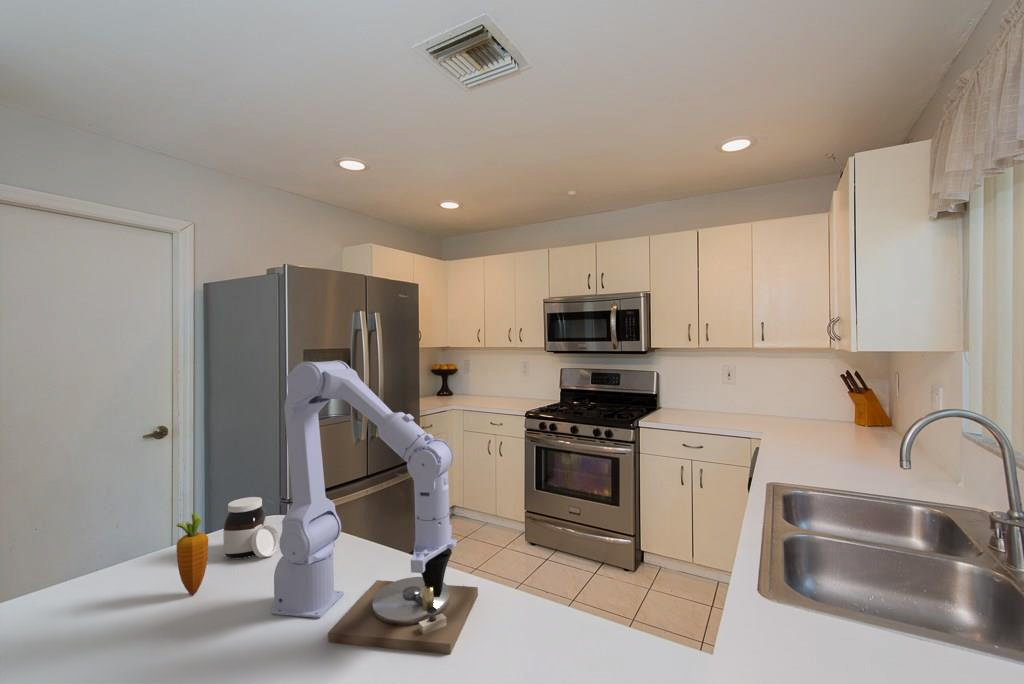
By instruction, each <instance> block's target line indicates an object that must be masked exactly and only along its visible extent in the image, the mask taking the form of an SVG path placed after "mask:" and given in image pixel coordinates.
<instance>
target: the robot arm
mask: <svg viewBox="0 0 1024 684" xmlns="http://www.w3.org/2000/svg"><path fill="white" fill-rule="evenodd" d="M286 381H287V382H286V383H287V395H286V398H285V402H284V419H285V429H286V431H285V433H286V440H287V441H286V442H287V452H288V453H287V454H288V463H289V465H288V466H289V476H290V485H291V486H290V487H291V495H292V496H291V497H292V505H291V506H290V508H289V510H288V511H287V512H286V514H285V515H284V517H283V518H282V520H281V524H282V525H281V527H282V528H281V529H282V530H281V531H282V532H281V533H280V536H279V550H280V553H281V554H282V556H281V557H280V558H279V560H278V562H277V563H276V566H275V570H274V573H273V592H274V593H273V595H274V596H273V597H274V599H273V602H274V603H273V604H274V606H273V607H274V608H273V609H271V611H270V613H271V614H272V615H282V616H293V617H294V616H295V617H306V618H316V619H318V618H321V617H322V616H323V615H324V614H325V613H326V612H327V611H328V610H329V609H330V608H331V607H332V606H333V605H334V604H335V603H337V602H338V601H339V599H340V598H342V597H343V596H344V595H345V594H344V591H343V590H335V589H334V588H335V587H334V586H335V585H334V579H335V578H334V575H335V574H334V548H335V546H336V543H335V542H336V540H337V539H338V538H340V535H341V532H342V521H341V519H340V517H339V515H338V514H337V511H336V505H335V502H334V501H332V500H331V499H329V498H327V497H326V487H325V477H324V475H325V474H324V465H323V463H324V462H323V454H322V444H321V442H322V441H321V430H320V419H319V413H320V411H321V410H322V409H323V407H325V406H326V405H327V403H328V402H329V401H331V400H343V401H345V402H347V403H348V404H349V405H350V406H351V407H353V408H354V409H355V410H357V411H358V412H359V413H360V414H362V415H363V416H364V417H365V418H367V419H368V421H371V422H372V423H373V424H374V425H376V426H377V427H378V436H379V438H380V439H381V440H382V441H383V442H384V443H385V444H386V445H387V446H388V447H389V448H390V449H392V451H393V452H394V453H396V454H397V455H398V456H399V457H400V458H401V459H403V461H405V462H406V468H407V472H408V474H409V475H410V477H411V478H412V480H413V486H414V487H413V488H414V527H415V529H414V531H415V534H414V535H415V541H414V543H413V555H412V558H411V559H410V573H413V574H414V573H416V574H421V577H423V580H424V583H425V585H426V584H432V585H433V587H434V597H440V595H441V592H442V586H443V582H444V580H445V579H444V578H445V575H446V569H447V566H448V563H449V561H450V558H451V556H452V554H453V551H452V549H454V548H455V547H456V546H457V544H458V540H457V539H455V538H452V534H453V531H452V529H453V528H452V526H453V525H452V524H450V491H449V490H450V488H449V487H450V486H449V471H448V469H450V467H451V466H452V464H453V460H454V453H453V450H452V449H451V446H450V445H449V444H448V443H447V441H445V440H444V439H439V438H434V435H432V434H431V433H427V432H426V431H425V430H424V429H422V428H421V427H420V426H419V425H418V424H417V423H416V422H415V421H414V420H415V417H414V416H413V415H412V414H411V413H407V414H406V413H404V412H402V411H399V412H393V411H392V410H391V408H389V407H388V406H387V405H386V404H385V403H384V402H383V401H382V399H380V398H379V396H377V394H375V393H374V392H373V390H371V388H369V386H367V385H366V383H364V382H363V380H361V379H360V376H359V375H358V373H357V371H356V370H354V369H353V368H351V367H350V366H349V364H347V362H345V361H342V360H340V359H337V360H332V361H331V360H330V361H303V362H299V364H297V365H295V367H294V368H293V369H292V370H291V371H290V372H289V373H288V374H287V376H286Z"/></svg>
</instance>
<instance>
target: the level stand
mask: <svg viewBox="0 0 1024 684" xmlns="http://www.w3.org/2000/svg"><path fill="white" fill-rule="evenodd" d="M392 582H395V581H393V580H379V579H377V580H376V581H375V582H374V583H372V585H371V586H370V587H369V588H368V589H367V590H366V591H365V592H364V593H363V595H362V596H360V598H358V600H356V601H355V603H354V604H353V605H352V606H351V607H350V608H349V609H348V611H346V613H345V614H344V615H343V616H342V617H341V618H340V619H339V620H338V622H336V623H335V625H333V627H332V628H330V630H329V631H327V643H331V644H332V643H333V644H343V645H353V646H365V647H374V648H382V649H383V648H384V649H385V648H386V649H394V650H395V649H396V650H402V651H403V650H404V651H414V652H415V651H416V652H425V653H435V654H436V653H437V654H444V655H447V654H448V655H452V652H453V651H454V650H453V649H454V648H455V646H456V644H457V641H458V639H459V637H460V635H461V632H462V630H463V629H464V626H465V624H466V622H467V619H468V617H469V615H470V613H471V612H472V610H473V608H474V604H475V603H476V601H477V599H478V596H479V590H478V589H479V588H478V586H464V585H454V584H452V585H449V584H446V585H447V586H448V588H449V603H448V605H447V607H446V608H445V609H444V610H443V611H442V612H441V613H440V614H438V615H436V616H435V615H431V616H430V618H428V619H426V620H423V621H420V622H419V623H414V624H406V625H397V624H390V623H386V622H383V621H381V620H379V619H378V618H377V617H376V616H375V615H374V613H373V598H374V596H375V594H376V593H377V592H378V591H379V590H380V589H381V588H383V587H384V586H386V585H388V584H390V583H392Z"/></svg>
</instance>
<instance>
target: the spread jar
mask: <svg viewBox="0 0 1024 684" xmlns="http://www.w3.org/2000/svg"><path fill="white" fill-rule="evenodd" d="M227 511H228V512H227V515H226V516H225V519H224V521H223V522H224V524H223V535H222V536H223V537H222V538H223V553H224V555H225V556H226V557H227V558H229V559H232V558H242V559H245V558H244V557H247V558H249V557H248V556H251V557H253V556H252V555H254V556H257V557H258V558H261V559H263V558H264V557H265V558H267V557H272V556H273V555H274V554H275V553H276V552H277V551H278V549H279V547H280V545H279V541H280V535H279V531H278V530H277V528H276V527H275V526H273V525H271V524H267V519H266V518H267V516H266V510H265V508H264V507H263V499H262V497H257V496H247V497H242V498H239V499H235V500H233V501H230V502H228V504H227ZM255 554H256V555H255ZM268 554H269V555H268Z"/></svg>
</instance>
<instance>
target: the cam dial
mask: <svg viewBox="0 0 1024 684" xmlns="http://www.w3.org/2000/svg"><path fill="white" fill-rule="evenodd" d="M447 585H448V584H446V582H444V581H443V586H442V592H441V595H440V597H434V587H433V585H432V584H426V585H425V583H424V580H423V577H422V576H413V577H412V576H411V577H407V578H402V579H398V580H396V581H395V582H392V583H390V584H388V585H386V586H384V587H383V588H381V589H380V590H379V591H378V592H377V593H376V594H375V596H374V598H373V613H374V615H375V616H376V617H377V618H378V619H379V620H381V621H383V622H386V623H390V624H397V625H406V624H414V623H419V622H420V621H423V620H426V619H428V618H430V616H431V615H435V616H436V615H438V614H440V613H441V612H442V611H443V610H444V609H445V608H446V607H447V605H448V603H449V588H448V586H447Z"/></svg>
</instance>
